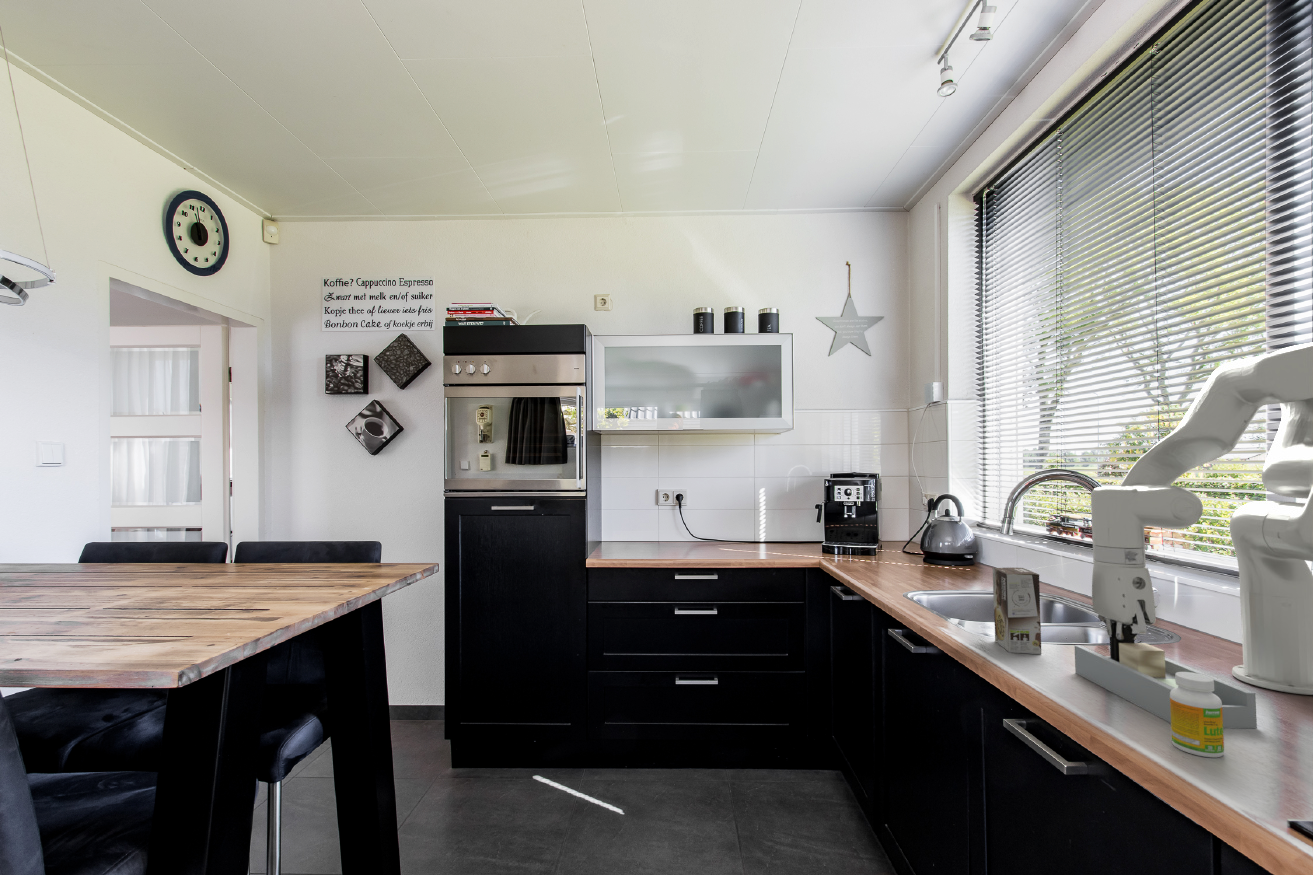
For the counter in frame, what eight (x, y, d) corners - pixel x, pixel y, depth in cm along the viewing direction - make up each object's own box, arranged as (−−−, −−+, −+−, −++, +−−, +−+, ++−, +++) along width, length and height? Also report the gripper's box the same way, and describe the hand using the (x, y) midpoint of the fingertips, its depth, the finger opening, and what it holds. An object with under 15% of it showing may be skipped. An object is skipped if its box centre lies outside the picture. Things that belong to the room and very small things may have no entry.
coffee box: (1043, 654, 126) (1040, 574, 127) (1008, 653, 128) (1005, 573, 128) (1026, 642, 135) (1023, 566, 136) (993, 640, 137) (991, 566, 137)
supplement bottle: (1210, 761, 81) (1207, 685, 82) (1162, 744, 86) (1159, 673, 86) (1233, 753, 83) (1229, 679, 84) (1185, 737, 88) (1182, 667, 89)
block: (1145, 668, 108) (1144, 642, 109) (1165, 677, 104) (1164, 650, 104) (1119, 668, 109) (1118, 642, 109) (1138, 677, 104) (1137, 650, 104)
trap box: (1136, 672, 115) (1135, 645, 115) (1257, 727, 91) (1255, 693, 91) (1075, 672, 116) (1074, 645, 116) (1179, 727, 92) (1177, 692, 92)
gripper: (1173, 562, 104) (1177, 674, 103) (1112, 550, 119) (1115, 648, 118) (1126, 562, 104) (1130, 674, 104) (1071, 550, 119) (1074, 647, 119)
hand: (1122, 660), depth 111 cm, fingers closed
